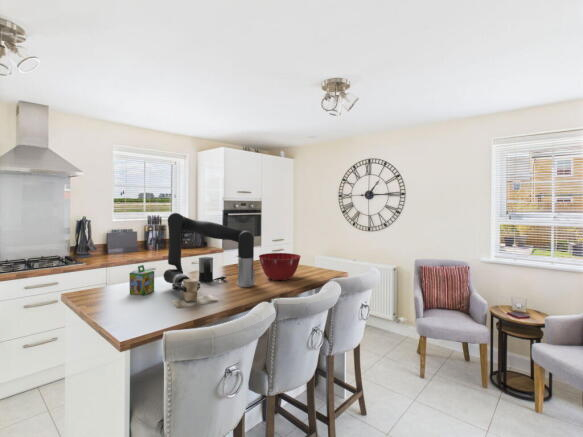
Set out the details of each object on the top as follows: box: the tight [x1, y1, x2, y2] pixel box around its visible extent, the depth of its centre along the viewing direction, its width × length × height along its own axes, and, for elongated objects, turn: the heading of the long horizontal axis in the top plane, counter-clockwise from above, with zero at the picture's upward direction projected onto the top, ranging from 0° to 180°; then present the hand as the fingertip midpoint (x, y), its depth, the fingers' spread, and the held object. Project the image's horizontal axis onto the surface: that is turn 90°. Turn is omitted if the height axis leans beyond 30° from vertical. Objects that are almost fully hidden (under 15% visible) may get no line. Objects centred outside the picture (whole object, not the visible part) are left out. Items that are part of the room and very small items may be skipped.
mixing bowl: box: [258, 252, 302, 281], centre depth 208 cm, size 28×28×15 cm
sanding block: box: [182, 278, 198, 303], centre depth 152 cm, size 5×6×10 cm
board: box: [171, 294, 219, 309], centre depth 154 cm, size 20×9×1 cm, turn 126°
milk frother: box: [197, 256, 227, 284], centre depth 196 cm, size 14×16×15 cm
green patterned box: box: [129, 264, 155, 296], centre depth 167 cm, size 9×9×15 cm
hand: (191, 289), depth 150 cm, fingers closed on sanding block, 5 cm apart
